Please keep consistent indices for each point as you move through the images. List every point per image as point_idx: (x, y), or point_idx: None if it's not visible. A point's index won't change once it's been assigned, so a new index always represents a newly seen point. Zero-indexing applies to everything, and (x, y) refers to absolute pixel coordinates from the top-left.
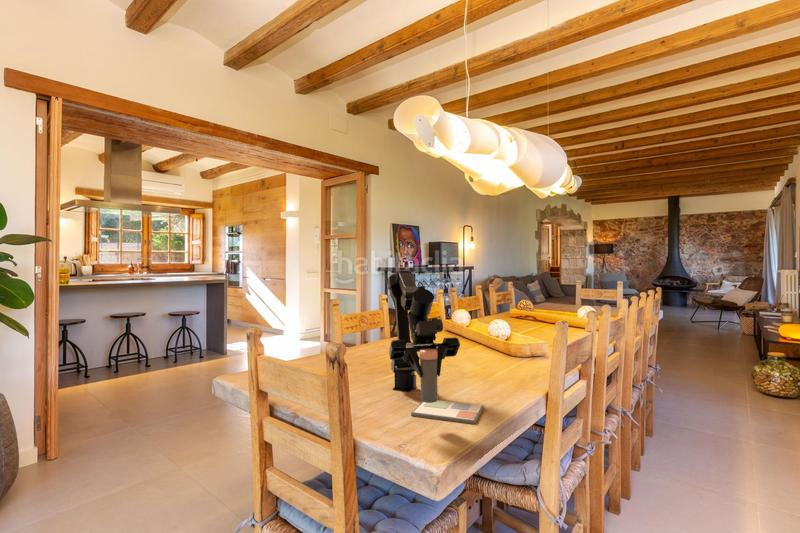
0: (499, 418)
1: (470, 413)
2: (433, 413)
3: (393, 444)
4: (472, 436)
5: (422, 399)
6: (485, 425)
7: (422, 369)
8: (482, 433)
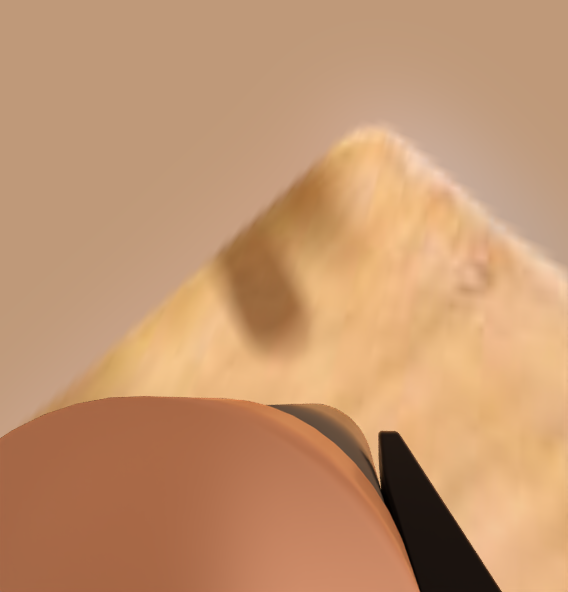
0: None
1: None
2: None
3: (515, 293)
4: (189, 313)
5: (366, 441)
6: None
7: (372, 474)
8: (145, 332)
